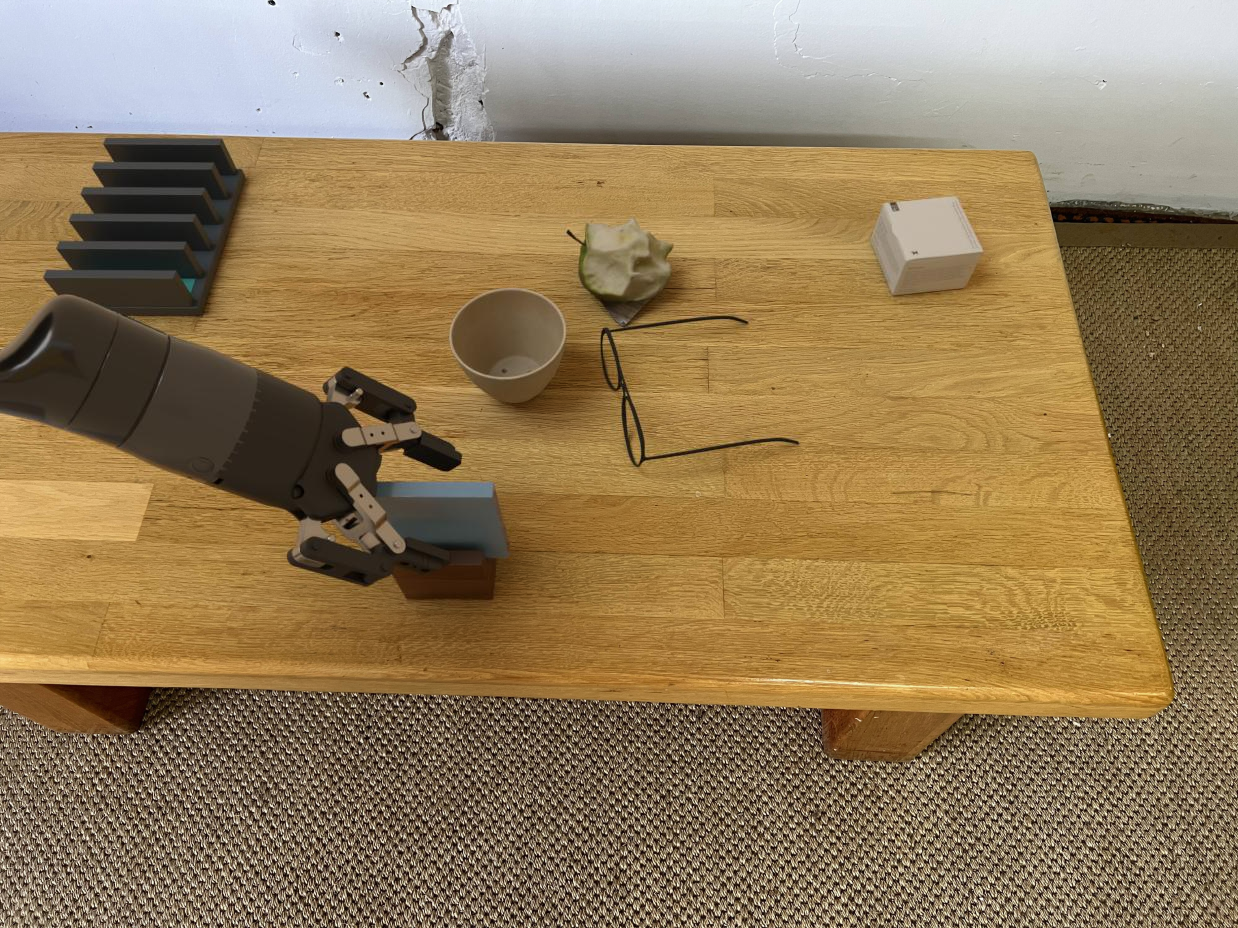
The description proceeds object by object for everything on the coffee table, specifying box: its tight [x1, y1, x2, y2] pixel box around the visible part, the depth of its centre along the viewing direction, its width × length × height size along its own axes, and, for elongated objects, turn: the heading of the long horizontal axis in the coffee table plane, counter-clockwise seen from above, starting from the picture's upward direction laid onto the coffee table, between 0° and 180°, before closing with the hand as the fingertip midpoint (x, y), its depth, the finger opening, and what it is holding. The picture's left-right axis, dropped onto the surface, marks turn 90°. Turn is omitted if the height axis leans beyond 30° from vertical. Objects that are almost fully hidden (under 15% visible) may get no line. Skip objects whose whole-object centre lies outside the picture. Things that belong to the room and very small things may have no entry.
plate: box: [353, 480, 510, 559], centre depth 63 cm, size 1×10×10 cm, turn 90°
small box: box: [870, 195, 984, 296], centre depth 85 cm, size 8×8×5 cm
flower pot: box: [448, 287, 567, 404], centre depth 77 cm, size 10×10×7 cm
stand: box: [391, 550, 498, 601], centre depth 67 cm, size 5×7×7 cm
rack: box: [42, 137, 247, 317], centre depth 86 cm, size 19×13×5 cm
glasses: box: [599, 315, 800, 468], centre depth 78 cm, size 14×15×5 cm
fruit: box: [566, 217, 675, 327], centre depth 83 cm, size 9×9×8 cm
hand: (449, 511), depth 61 cm, fingers open, 7 cm apart
